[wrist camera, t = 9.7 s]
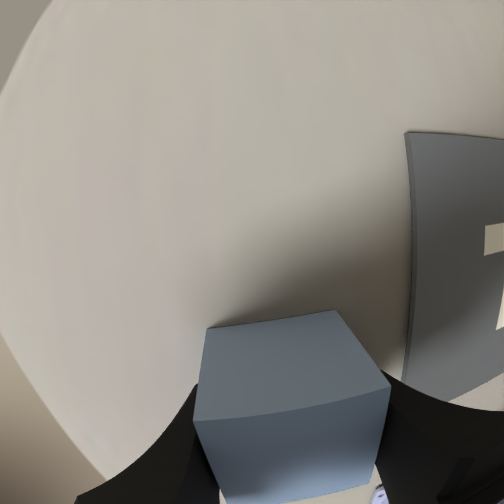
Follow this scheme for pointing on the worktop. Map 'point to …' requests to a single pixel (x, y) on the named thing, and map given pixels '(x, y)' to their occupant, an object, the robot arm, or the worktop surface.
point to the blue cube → (289, 409)
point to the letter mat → (455, 263)
